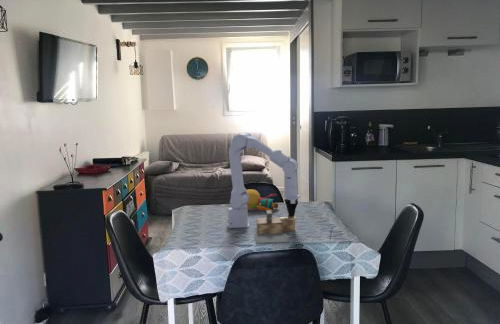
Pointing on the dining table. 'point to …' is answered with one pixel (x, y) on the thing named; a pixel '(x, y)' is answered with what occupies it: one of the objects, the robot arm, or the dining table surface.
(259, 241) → the mat
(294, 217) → the beige piece
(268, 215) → the lid
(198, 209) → the dining table surface
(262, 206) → the toy
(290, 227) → the open wooden box
